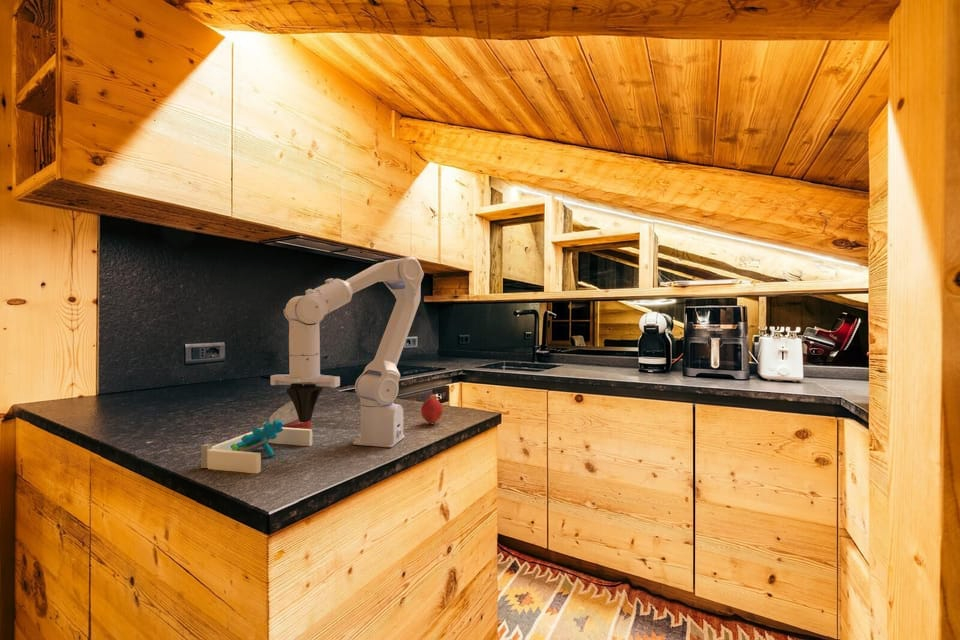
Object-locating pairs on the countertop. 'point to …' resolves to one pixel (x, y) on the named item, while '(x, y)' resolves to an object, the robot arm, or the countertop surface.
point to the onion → (432, 409)
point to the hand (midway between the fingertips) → (305, 421)
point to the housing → (248, 461)
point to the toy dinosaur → (259, 438)
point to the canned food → (289, 417)
